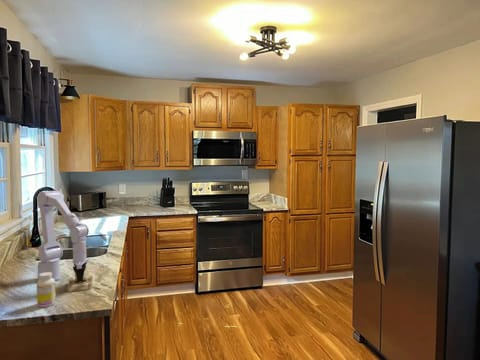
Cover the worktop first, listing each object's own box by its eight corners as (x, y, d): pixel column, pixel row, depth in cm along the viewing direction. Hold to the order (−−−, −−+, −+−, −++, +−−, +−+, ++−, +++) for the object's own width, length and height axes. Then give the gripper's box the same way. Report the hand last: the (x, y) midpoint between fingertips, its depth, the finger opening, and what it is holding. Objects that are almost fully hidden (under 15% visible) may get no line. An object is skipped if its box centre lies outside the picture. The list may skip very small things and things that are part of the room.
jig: (67, 291, 160) (67, 286, 160) (69, 283, 171) (69, 278, 171) (91, 289, 164) (91, 283, 164) (92, 280, 175) (92, 275, 175)
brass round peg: (75, 286, 165) (74, 271, 164) (75, 283, 169) (74, 268, 168) (84, 284, 166) (83, 270, 166) (84, 282, 170) (84, 267, 170)
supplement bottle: (46, 300, 151) (45, 270, 150) (59, 302, 149) (58, 272, 148) (33, 306, 145) (32, 275, 144) (46, 308, 143) (45, 277, 142)
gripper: (88, 254, 161) (89, 283, 162) (89, 246, 175) (89, 273, 176) (71, 255, 159) (72, 285, 160) (73, 247, 172) (74, 275, 173)
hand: (80, 279), depth 167 cm, fingers closed on brass round peg, 4 cm apart
